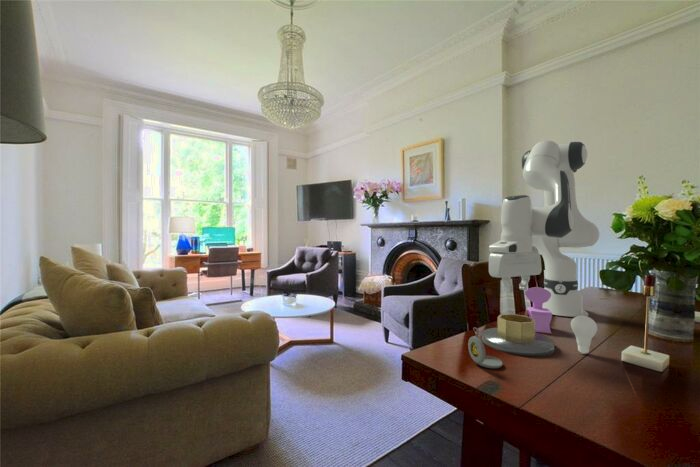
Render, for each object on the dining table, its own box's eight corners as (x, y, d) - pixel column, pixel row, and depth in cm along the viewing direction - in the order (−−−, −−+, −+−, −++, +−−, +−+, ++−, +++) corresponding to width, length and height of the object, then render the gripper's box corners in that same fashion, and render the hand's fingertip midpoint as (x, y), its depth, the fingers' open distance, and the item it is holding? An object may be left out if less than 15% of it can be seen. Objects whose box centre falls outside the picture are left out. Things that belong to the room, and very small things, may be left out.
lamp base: (488, 329, 110) (488, 307, 110) (555, 340, 99) (555, 316, 99) (475, 346, 94) (475, 320, 94) (553, 362, 82) (553, 332, 82)
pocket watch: (506, 364, 81) (506, 326, 81) (494, 374, 75) (494, 334, 75) (475, 355, 87) (475, 320, 87) (462, 364, 81) (462, 326, 81)
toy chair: (528, 332, 108) (528, 289, 108) (523, 325, 116) (523, 285, 116) (555, 335, 105) (555, 291, 105) (549, 327, 113) (549, 287, 113)
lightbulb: (601, 359, 85) (601, 319, 84) (575, 356, 86) (576, 317, 86) (590, 350, 90) (590, 313, 90) (566, 348, 92) (567, 312, 92)
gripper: (528, 245, 104) (528, 286, 103) (484, 246, 95) (484, 290, 95) (547, 246, 98) (547, 289, 98) (502, 247, 89) (502, 294, 89)
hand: (516, 290), depth 96 cm, fingers open, 5 cm apart
